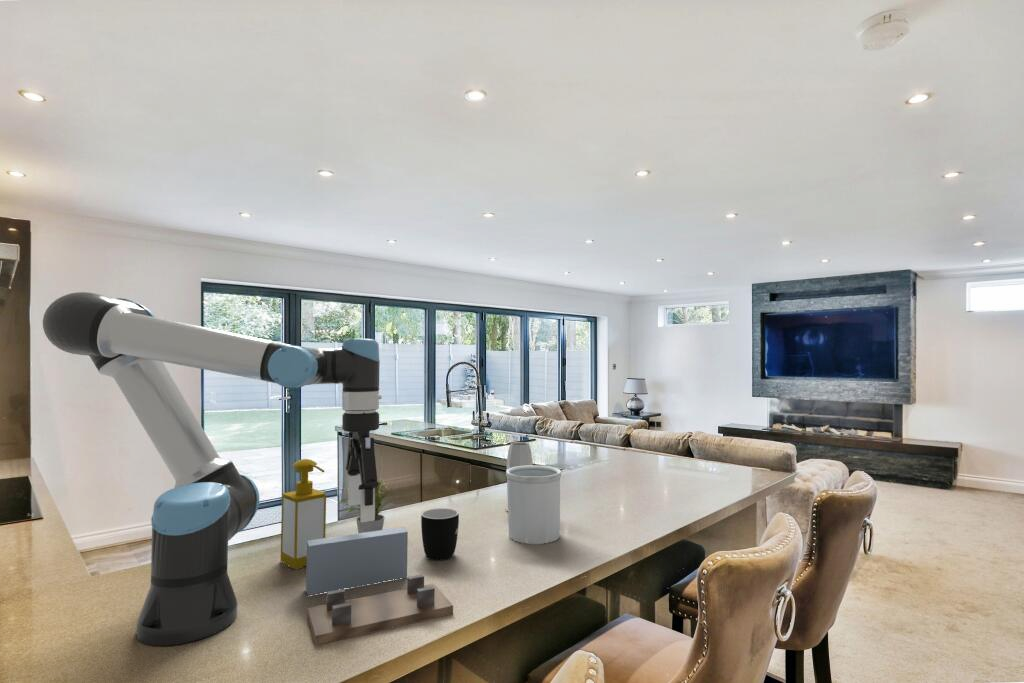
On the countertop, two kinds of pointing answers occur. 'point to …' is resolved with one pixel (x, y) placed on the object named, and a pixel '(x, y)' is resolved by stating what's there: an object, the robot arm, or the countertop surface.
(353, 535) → the door panel
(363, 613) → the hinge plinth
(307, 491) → the soap bottle
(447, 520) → the mug
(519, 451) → the wineglass
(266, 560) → the countertop surface
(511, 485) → the utensil holder
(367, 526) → the house plant
